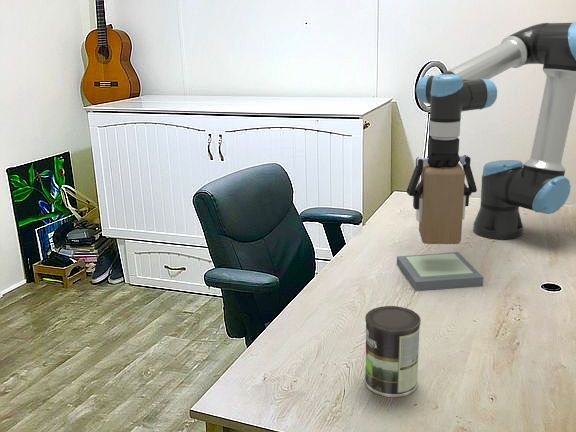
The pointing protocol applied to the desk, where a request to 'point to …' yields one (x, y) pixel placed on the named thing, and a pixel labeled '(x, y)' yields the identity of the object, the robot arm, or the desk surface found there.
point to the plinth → (439, 271)
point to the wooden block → (442, 204)
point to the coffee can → (392, 350)
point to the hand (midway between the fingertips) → (440, 219)
